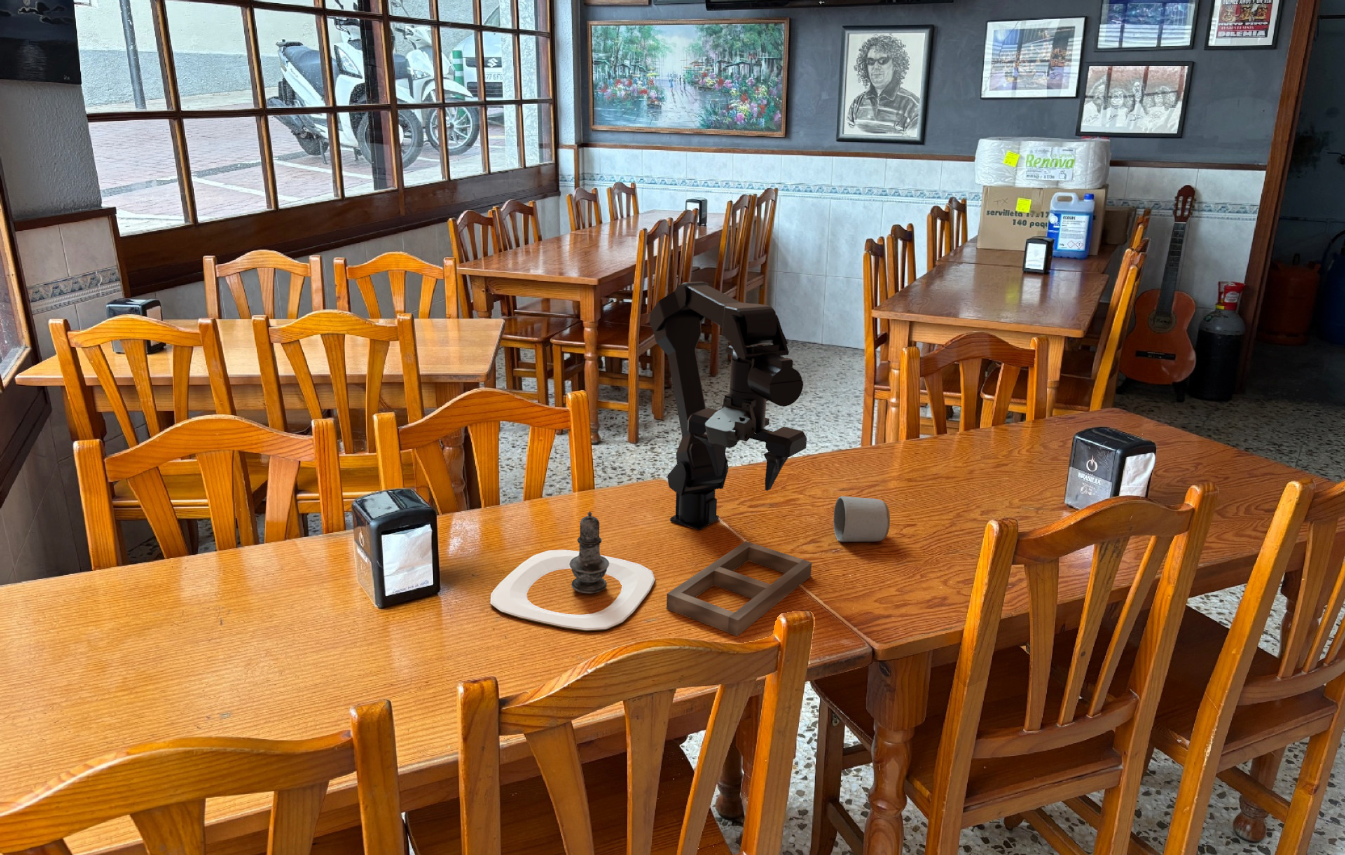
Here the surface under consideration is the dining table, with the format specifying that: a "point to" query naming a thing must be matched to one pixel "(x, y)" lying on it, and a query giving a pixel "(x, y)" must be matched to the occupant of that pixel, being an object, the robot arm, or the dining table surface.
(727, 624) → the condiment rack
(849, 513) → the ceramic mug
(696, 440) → the robot arm
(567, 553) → the plate
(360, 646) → the dining table surface
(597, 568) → the salt shaker
